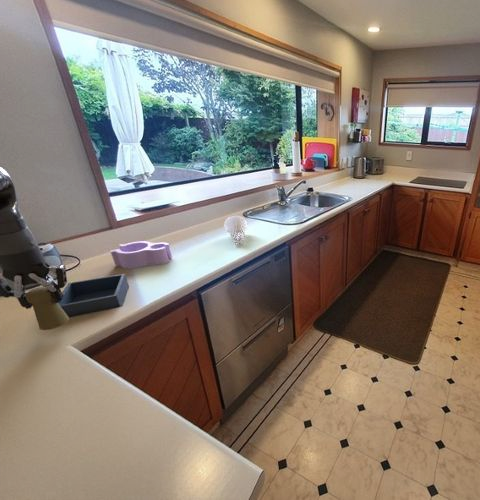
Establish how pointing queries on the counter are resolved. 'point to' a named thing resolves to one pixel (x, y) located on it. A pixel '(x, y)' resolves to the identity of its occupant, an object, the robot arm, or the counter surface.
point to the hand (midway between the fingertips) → (44, 303)
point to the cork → (46, 309)
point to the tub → (94, 295)
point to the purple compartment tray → (141, 254)
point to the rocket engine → (236, 228)
